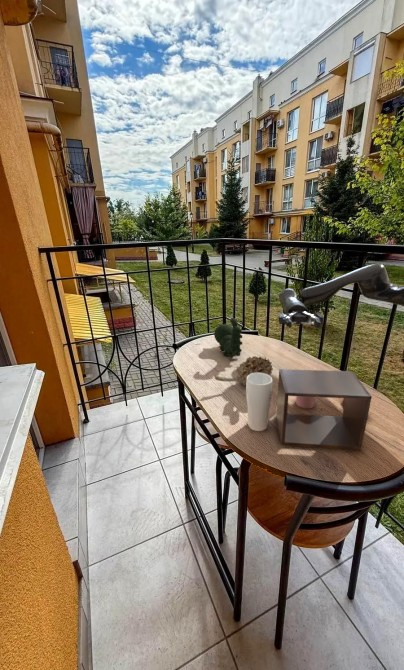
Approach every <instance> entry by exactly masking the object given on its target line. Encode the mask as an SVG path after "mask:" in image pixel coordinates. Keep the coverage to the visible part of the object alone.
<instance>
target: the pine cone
mask: <svg viewBox="0 0 404 670" xmlns="http://www.w3.org/2000/svg"><path fill="white" fill-rule="evenodd" d="M272 363H273V362H271V361H270V358H268V359H267V358H266V357H262V356H255V355H253V356H249V357H247V358H246V360H245V361H242V363H240V364H239V366H236V370H235V372H236V374H237V376H236V377H223V376H218V375H213V377H214V379H215V380H216V381H219V382H229V383H230V382H239V383H241V384H242V385H243V386H246V379H247V376H248V375H249V374H252V373H265V374H268V375H269V376H271V374H272V372H273V365H272Z"/></svg>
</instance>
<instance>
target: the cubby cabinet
mask: <svg viewBox="0 0 404 670" xmlns="http://www.w3.org/2000/svg"><path fill="white" fill-rule="evenodd" d="M277 383H278V385H277V400H276V415H275V416H276V422H277V423H276V424H277V428H278V433H279V434H278V435H279V440H280V445H281V446H289V447H302V448H303V447H304V448H320V449H332V450H333V449H334V450H345V451H361V452H362V449H363V448H362V447H363V444H364V443H363V442H364V438H365V432H366V428H367V421H368V419H369V412H370V407H371V402H372V398H373V397H372V396H373V395H372V394H370V392H369V391H368V390H367V388H366V387H365V385H364V384H363V383H362V382H361V380H360V379H359V378H358V376H357V375H356V374H355V372H353V370H351V371H350V370H323V369H322V370H319V369H318V370H317V369H316V370H315V369H290V368H289V369H286V368H285V369H284V368H279V370H278V382H277ZM296 396H305V397H315V398H329V399H331V398H332V399H343V398H345V403H344V402H343V403H344V404H343V410H342V416H339V415H338V416H337V415H336V416H335V415H321V414H320V415H319V414H302V413H301V414H299V413H288V405H289V397H296ZM367 418H368V419H367Z"/></svg>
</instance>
